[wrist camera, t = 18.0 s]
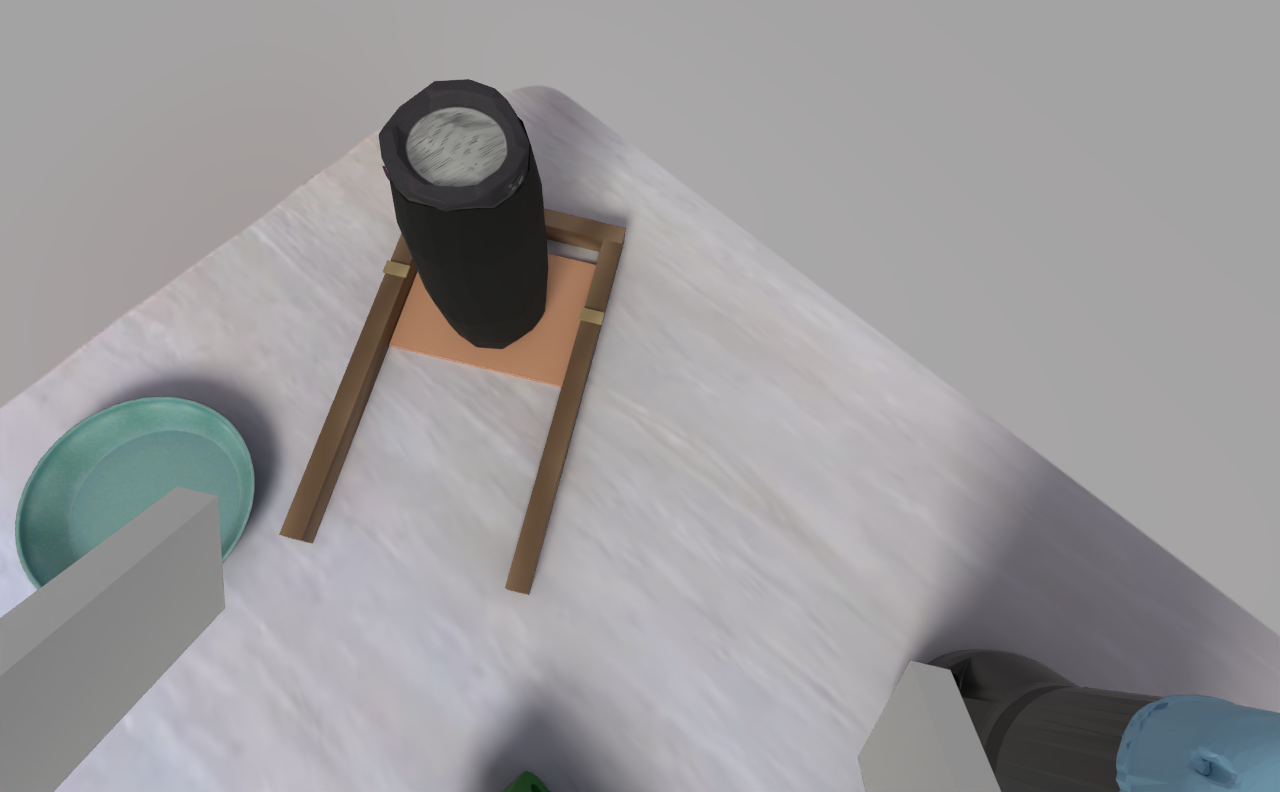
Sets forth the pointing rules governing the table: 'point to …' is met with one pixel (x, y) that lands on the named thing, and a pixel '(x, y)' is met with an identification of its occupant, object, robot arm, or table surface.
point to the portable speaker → (470, 208)
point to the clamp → (526, 784)
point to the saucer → (129, 478)
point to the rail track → (371, 355)
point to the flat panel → (527, 357)
